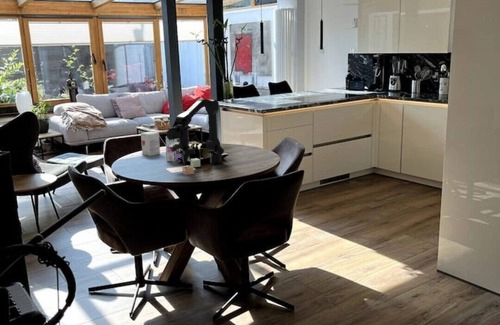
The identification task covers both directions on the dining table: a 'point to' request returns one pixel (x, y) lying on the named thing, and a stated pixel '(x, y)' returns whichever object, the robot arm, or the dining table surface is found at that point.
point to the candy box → (169, 154)
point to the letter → (175, 169)
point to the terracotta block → (187, 170)
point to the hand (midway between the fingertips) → (184, 163)
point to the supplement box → (150, 143)
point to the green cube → (195, 162)
